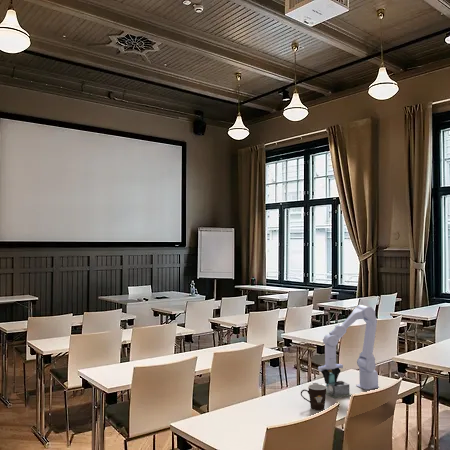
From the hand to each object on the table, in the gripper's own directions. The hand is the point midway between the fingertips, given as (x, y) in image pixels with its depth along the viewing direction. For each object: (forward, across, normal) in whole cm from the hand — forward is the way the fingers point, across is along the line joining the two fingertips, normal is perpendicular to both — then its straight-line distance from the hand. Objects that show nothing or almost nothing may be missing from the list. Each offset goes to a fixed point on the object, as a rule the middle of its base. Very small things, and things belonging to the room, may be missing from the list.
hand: (330, 383), depth 256 cm
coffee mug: (+4, +22, +18) cm, 29 cm away
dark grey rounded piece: (+4, +3, -10) cm, 11 cm away
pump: (+2, 0, 0) cm, 2 cm away
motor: (+4, 0, +4) cm, 5 cm away
